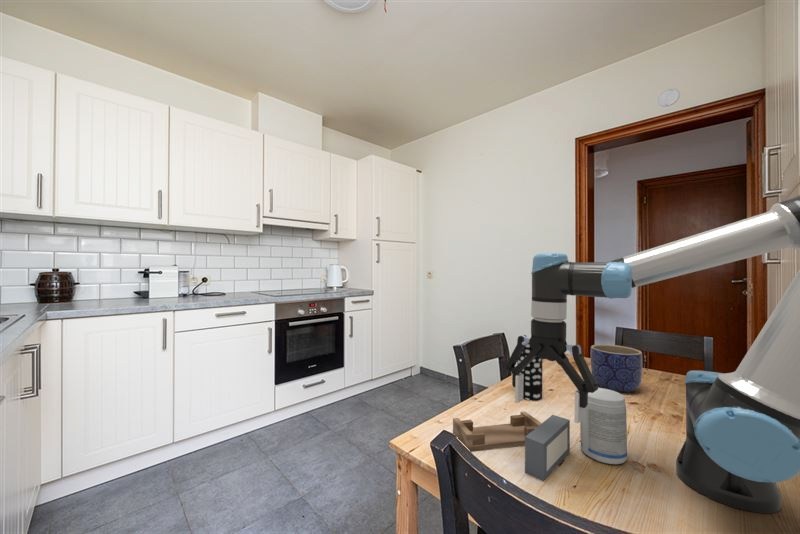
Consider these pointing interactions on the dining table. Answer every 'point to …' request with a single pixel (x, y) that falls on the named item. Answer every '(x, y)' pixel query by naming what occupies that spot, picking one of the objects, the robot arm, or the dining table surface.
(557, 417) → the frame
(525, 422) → the tray
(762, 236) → the robot arm
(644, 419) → the dining table surface
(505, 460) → the dining table surface
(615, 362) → the planter
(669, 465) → the dining table surface
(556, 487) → the dining table surface
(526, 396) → the spotted tube
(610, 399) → the supplement tub
